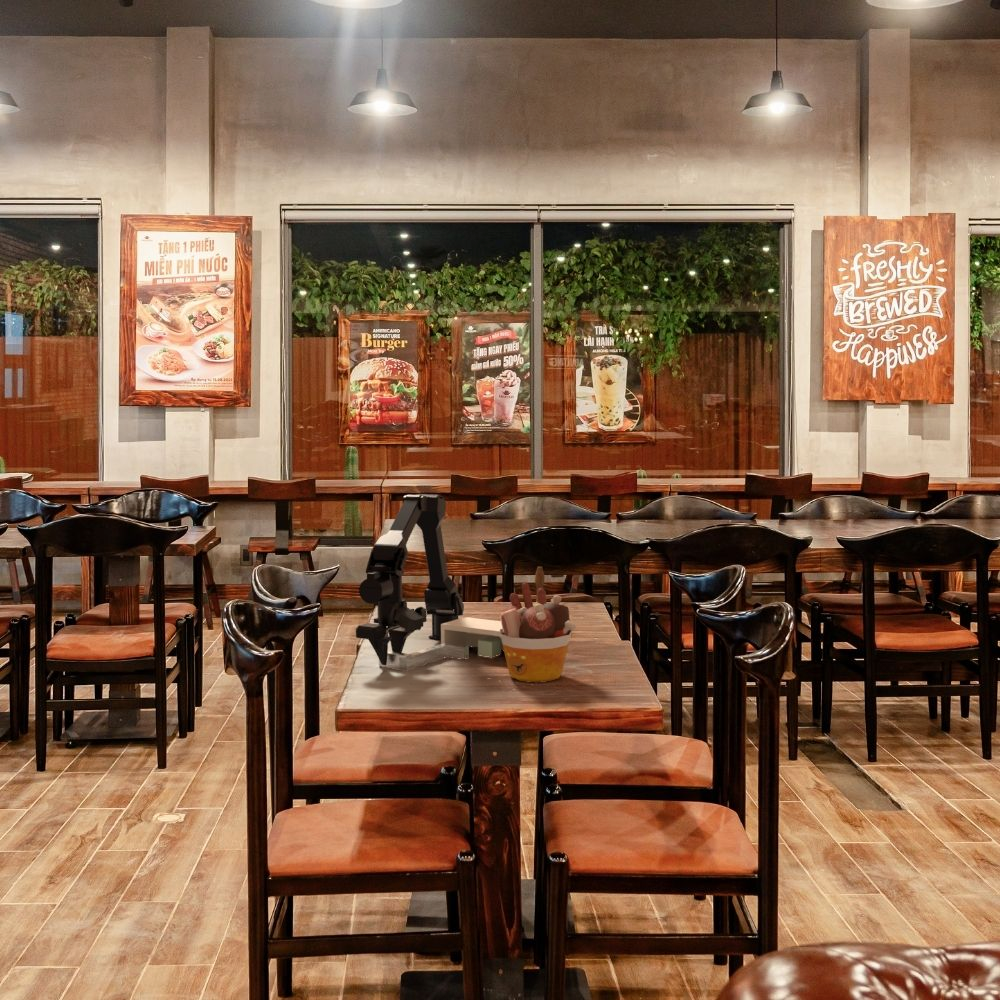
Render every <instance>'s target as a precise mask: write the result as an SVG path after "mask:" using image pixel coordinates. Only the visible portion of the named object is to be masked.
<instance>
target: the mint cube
mask: <svg viewBox="0 0 1000 1000" xmlns="http://www.w3.org/2000/svg"><path fill="white" fill-rule="evenodd" d="M499 654H501V655H502V651H501V639H496V638H488V637H487V638H484V639H481V640H478V648H477V656H478V655H482V656H489V657H493V656H496V655H499Z"/></svg>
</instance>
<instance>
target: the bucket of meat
mask: <svg viewBox="0 0 1000 1000" xmlns="http://www.w3.org/2000/svg"><path fill="white" fill-rule="evenodd" d="M520 588H521V592H522V598H523V603H524V606H522V603H521V600H520V597H519V595H518V594H517V593H515V592H512V593H510V595H509V601H510V603H511V605H510V606H508V607H506V608H505V609H504V610H503V612H500V621H501V624H502V629H500V636H501V639H502V643H503V648H504V651H503V652H504V656H505V661H506V666H507V670H508V675H510V677H511V678H512V679H513V678H515V679H517V680H516V681H518V680H520V681H519V682H521V681H530V682H541V681H550V682H552V681H551V680H554V681H556V680H555V679H557V680H559V678H560V677H561V675H562V674H563V671H564V668H565V667H564V666H565V662H566V657H567V653H568V649H569V643H570V639H571V636H572V631H574V630H575V629H576V628H577V626H576V624H575V623H574V622H572V621H570V609H569V606H565V605H563V604H560V603H561V602H562V596H560V595H558V594H556V595H553V597H552V598H551V599H550V603H549V602H547V591H546V590H545V589H544V587H543V588H540V589H538V591H537V590H536V599H538V604H536V605H535V607H533V604H534V603H533V599H532V598H533V597H532V594H531V588H530V584H528V583H527V582H522V584H521V586H520ZM515 679H514V680H515Z"/></svg>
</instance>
